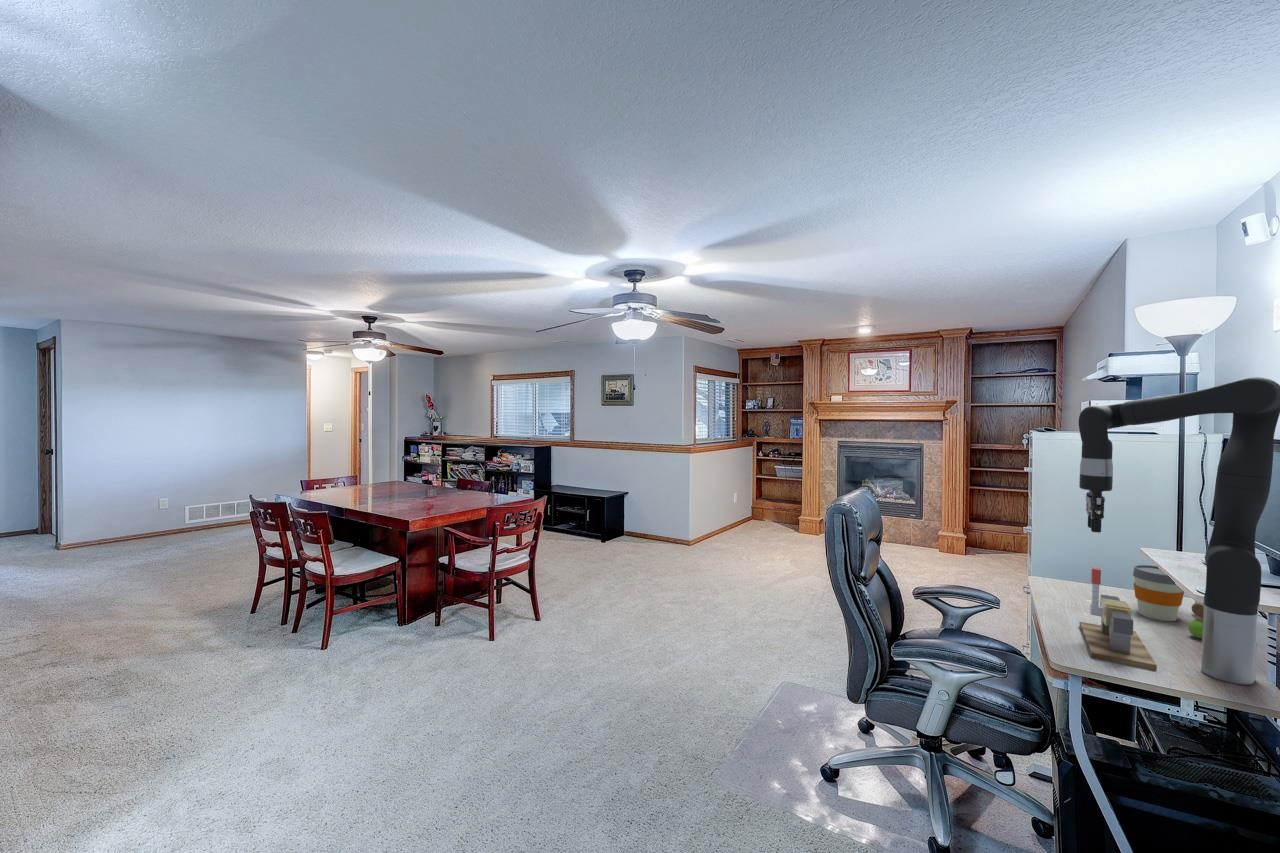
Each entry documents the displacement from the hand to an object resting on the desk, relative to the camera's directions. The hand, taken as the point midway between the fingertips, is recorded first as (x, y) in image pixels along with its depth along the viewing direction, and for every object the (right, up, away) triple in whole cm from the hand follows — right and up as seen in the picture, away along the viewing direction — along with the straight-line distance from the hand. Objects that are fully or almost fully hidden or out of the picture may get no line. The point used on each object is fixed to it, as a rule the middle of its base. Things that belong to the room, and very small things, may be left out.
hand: (1094, 529), depth 163 cm
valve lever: (-3, -23, -5) cm, 24 cm away
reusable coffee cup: (+35, -32, +17) cm, 50 cm away
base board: (0, -32, -7) cm, 33 cm away
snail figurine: (+31, -32, -1) cm, 45 cm away
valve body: (0, -30, -7) cm, 31 cm away
